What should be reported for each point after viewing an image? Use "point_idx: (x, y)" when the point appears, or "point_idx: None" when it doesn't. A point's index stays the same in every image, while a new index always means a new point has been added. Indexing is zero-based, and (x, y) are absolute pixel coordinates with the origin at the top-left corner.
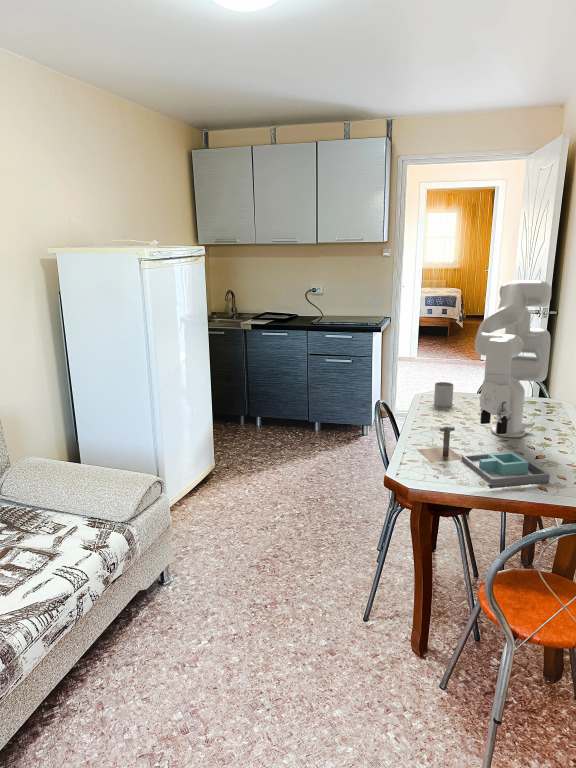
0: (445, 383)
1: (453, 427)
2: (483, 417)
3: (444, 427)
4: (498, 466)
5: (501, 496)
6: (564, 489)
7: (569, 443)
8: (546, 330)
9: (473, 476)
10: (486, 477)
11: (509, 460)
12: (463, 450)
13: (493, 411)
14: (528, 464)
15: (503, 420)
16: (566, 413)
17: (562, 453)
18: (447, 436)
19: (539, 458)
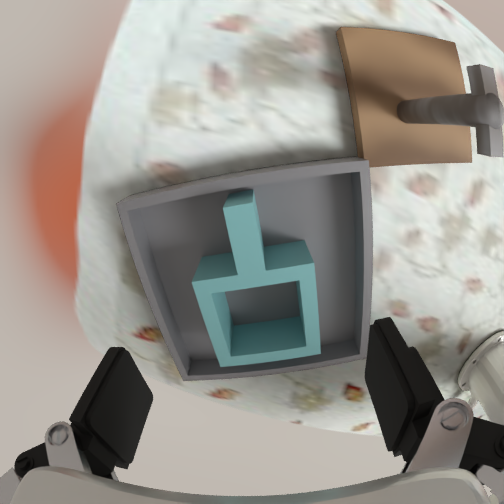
0: None
1: (491, 148)
2: (390, 376)
3: (493, 94)
4: (225, 267)
5: (84, 209)
6: (155, 372)
7: None
8: None
9: (230, 160)
10: (155, 192)
11: (302, 325)
12: (456, 215)
13: (29, 496)
14: (273, 363)
15: (39, 446)
16: None
17: (356, 425)
18: (451, 106)
19: (345, 391)
